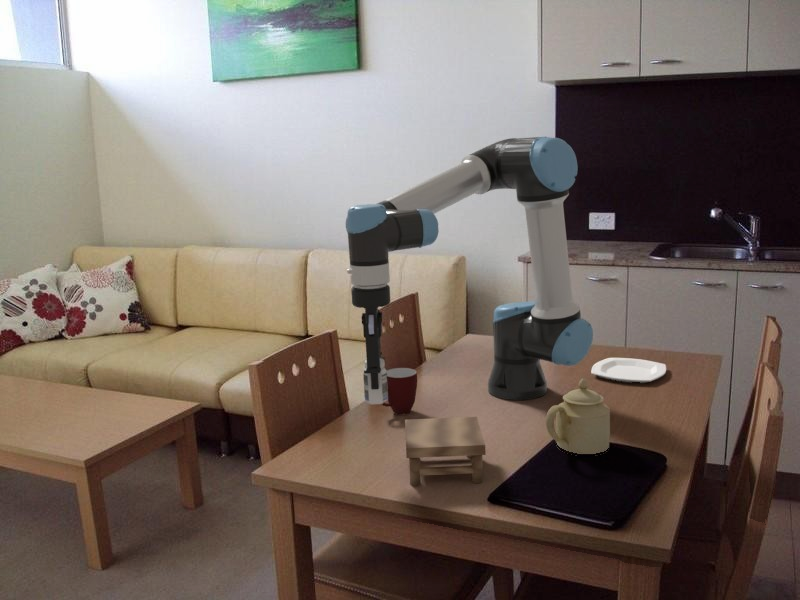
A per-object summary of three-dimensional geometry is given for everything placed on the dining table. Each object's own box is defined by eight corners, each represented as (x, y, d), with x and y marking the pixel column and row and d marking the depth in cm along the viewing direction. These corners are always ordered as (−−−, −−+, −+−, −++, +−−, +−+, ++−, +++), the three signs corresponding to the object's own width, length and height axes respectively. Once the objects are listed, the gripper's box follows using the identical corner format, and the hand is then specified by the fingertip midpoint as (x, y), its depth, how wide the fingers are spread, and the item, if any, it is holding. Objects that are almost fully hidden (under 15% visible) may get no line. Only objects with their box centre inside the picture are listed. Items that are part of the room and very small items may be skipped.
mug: (394, 423, 179) (393, 382, 177) (371, 415, 185) (369, 376, 183) (425, 410, 186) (423, 371, 184) (401, 403, 192) (400, 365, 190)
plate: (673, 369, 211) (673, 363, 211) (655, 390, 195) (655, 383, 195) (604, 361, 221) (605, 355, 221) (582, 380, 205) (582, 373, 205)
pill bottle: (364, 397, 155) (362, 357, 154) (387, 395, 156) (385, 356, 154) (365, 405, 151) (362, 364, 149) (388, 403, 151) (386, 362, 149)
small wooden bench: (477, 452, 161) (476, 416, 159) (486, 484, 146) (485, 444, 144) (406, 455, 161) (404, 419, 159) (407, 487, 146) (406, 448, 144)
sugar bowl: (598, 467, 151) (599, 395, 148) (543, 458, 156) (543, 389, 153) (614, 440, 164) (615, 373, 161) (564, 433, 169) (564, 368, 166)
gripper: (353, 277, 157) (360, 385, 162) (348, 295, 140) (355, 415, 145) (390, 275, 157) (395, 383, 162) (389, 293, 140) (394, 413, 144)
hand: (376, 398), depth 153 cm, fingers closed on pill bottle, 5 cm apart
